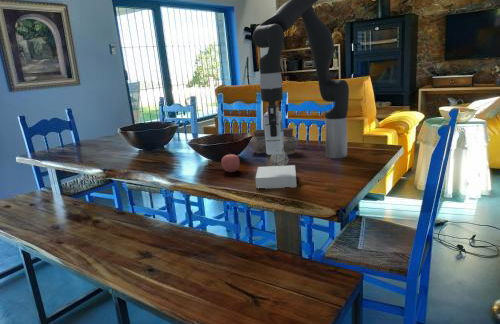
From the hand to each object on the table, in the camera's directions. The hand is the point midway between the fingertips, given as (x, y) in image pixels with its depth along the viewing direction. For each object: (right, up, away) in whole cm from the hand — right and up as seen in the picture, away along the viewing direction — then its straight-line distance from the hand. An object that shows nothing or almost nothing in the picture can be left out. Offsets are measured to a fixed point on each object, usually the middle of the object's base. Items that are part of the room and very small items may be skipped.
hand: (274, 134), depth 131 cm
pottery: (+3, -5, +49) cm, 49 cm away
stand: (+1, -17, +4) cm, 18 cm away
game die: (+4, -13, +21) cm, 25 cm away
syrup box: (+1, -7, +2) cm, 7 cm away
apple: (-16, -14, +22) cm, 31 cm away
